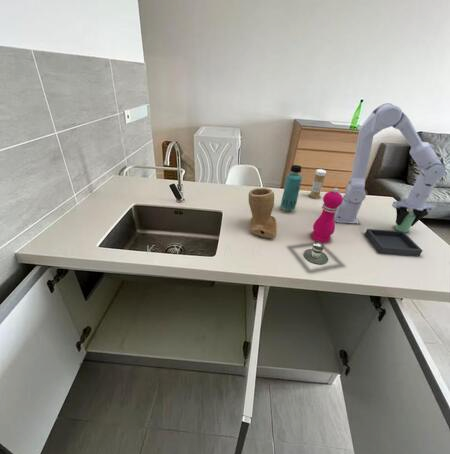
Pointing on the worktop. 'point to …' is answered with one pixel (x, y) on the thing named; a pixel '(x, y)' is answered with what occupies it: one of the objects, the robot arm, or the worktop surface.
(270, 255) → the worktop surface
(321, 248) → the pot lid
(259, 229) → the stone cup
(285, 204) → the beverage bottle
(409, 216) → the mint green cylinder
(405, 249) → the dark gray rectangular tray
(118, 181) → the worktop surface
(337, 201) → the pepper mill
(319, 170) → the sprinkles bottle
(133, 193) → the worktop surface
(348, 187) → the robot arm
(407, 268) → the worktop surface
